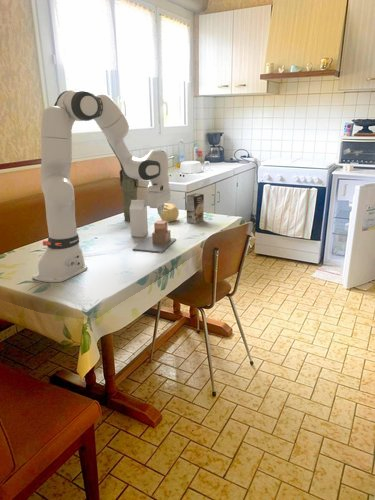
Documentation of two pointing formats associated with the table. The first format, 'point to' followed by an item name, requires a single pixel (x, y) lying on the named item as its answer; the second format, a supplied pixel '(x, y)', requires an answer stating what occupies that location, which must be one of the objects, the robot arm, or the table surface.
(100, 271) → the table surface
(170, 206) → the sculpture
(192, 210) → the coffee box
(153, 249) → the building board
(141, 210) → the milk carton
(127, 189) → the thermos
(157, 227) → the top block
